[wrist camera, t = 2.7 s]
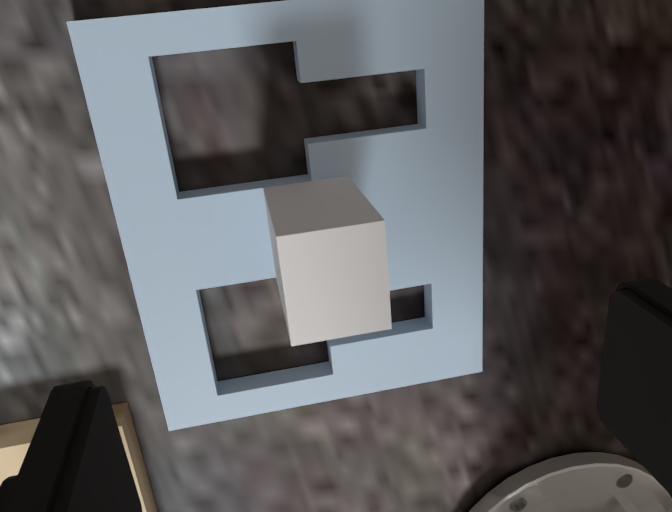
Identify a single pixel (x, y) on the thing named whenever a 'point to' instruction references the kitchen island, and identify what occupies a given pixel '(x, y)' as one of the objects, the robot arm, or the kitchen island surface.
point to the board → (14, 439)
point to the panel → (232, 214)
